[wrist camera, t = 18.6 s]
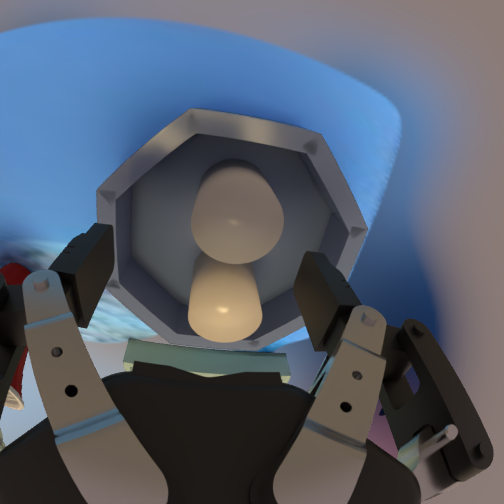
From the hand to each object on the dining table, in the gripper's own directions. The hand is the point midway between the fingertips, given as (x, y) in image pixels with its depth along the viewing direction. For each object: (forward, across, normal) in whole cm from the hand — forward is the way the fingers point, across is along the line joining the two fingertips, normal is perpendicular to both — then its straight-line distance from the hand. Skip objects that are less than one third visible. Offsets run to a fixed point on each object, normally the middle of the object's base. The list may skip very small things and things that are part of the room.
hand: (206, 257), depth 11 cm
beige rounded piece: (+7, -1, -1) cm, 7 cm away
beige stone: (+7, -2, +5) cm, 9 cm away
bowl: (+8, -2, +2) cm, 9 cm away
